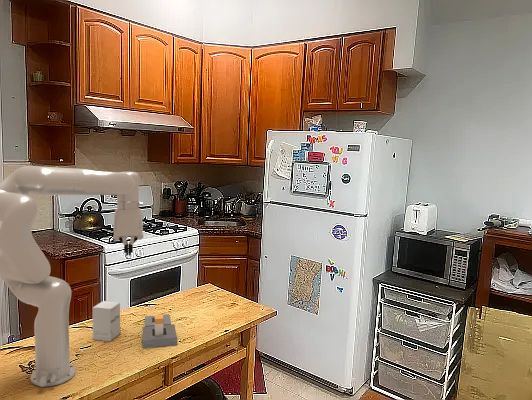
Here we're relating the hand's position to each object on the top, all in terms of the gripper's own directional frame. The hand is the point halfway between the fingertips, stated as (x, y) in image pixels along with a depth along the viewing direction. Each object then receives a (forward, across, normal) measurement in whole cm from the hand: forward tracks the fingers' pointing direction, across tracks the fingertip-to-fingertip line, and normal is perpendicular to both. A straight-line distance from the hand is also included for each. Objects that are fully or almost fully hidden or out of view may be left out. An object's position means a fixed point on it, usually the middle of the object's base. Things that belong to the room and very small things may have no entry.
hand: (128, 254), depth 161 cm
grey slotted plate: (+32, -11, -9) cm, 35 cm away
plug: (+32, -11, +5) cm, 34 cm away
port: (+32, -11, +5) cm, 34 cm away
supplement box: (+32, +8, -2) cm, 33 cm away
